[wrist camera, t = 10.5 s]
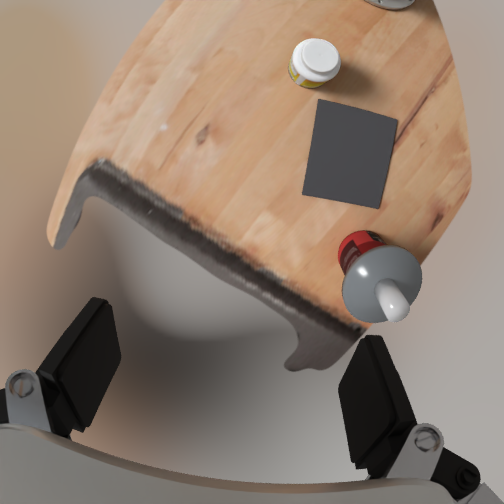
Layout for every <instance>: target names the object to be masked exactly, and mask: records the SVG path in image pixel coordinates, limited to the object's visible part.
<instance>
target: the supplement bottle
mask: <svg viewBox="0 0 504 504" xmlns="http://www.w3.org/2000/svg"><path fill="white" fill-rule="evenodd" d="M340 66H341V59H340V55H339V53H338V51H337V49H336V48H335V47H334V45H332V44H331V43H330V42H328V41H326V40H322V39H317V38H312V39H307V40H304V41H302V42H301V43H299V44H298V45H297V47H296V48H295V50H294V52H293V54H292V57H291V59H290V62H289V66H288V71H289V75H290V77H291V78H292V80H293V81H294V82H295V83H296V84H298V85H299V86H302V87H305V88H316V87H319V86H321V85H322V84H324V83H325V82H327V81H329V80H330V79H332V78H333V77H334V76H335V75H336V74H337V73H338V71H339V69H340Z"/></svg>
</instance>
